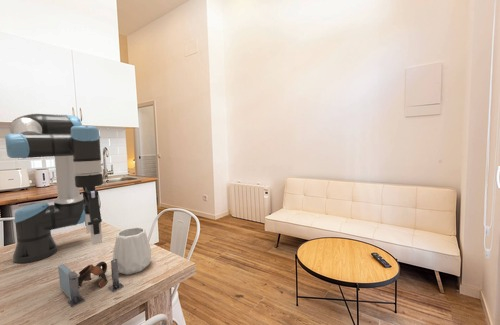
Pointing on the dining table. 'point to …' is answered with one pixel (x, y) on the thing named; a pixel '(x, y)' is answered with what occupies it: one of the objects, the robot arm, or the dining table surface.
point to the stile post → (115, 276)
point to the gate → (66, 279)
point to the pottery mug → (96, 270)
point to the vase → (132, 250)
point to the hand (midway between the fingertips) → (94, 237)
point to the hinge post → (75, 293)
